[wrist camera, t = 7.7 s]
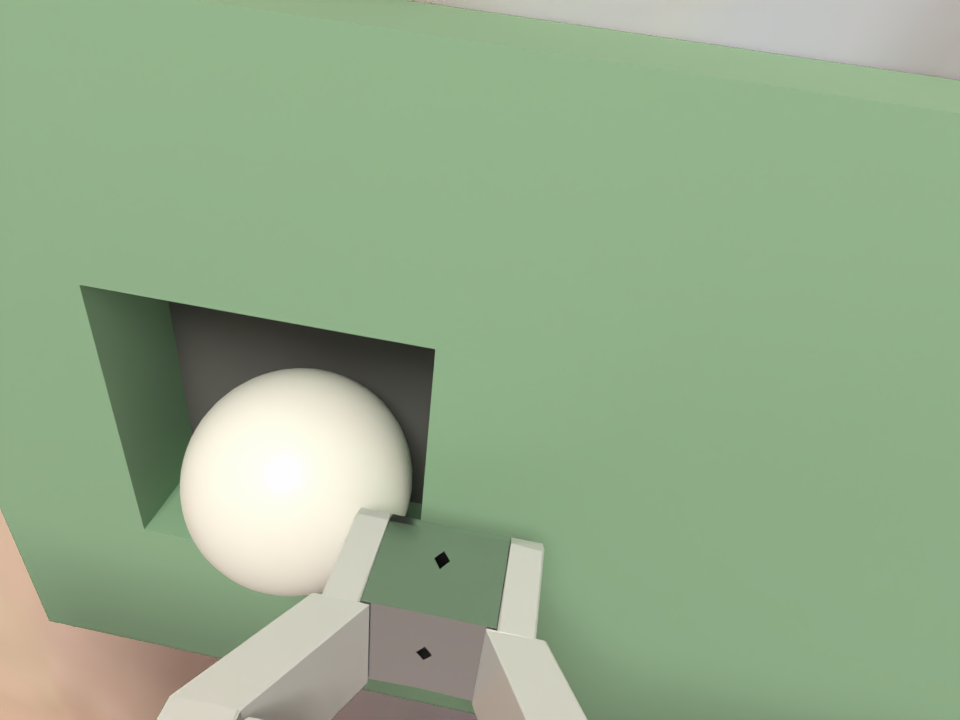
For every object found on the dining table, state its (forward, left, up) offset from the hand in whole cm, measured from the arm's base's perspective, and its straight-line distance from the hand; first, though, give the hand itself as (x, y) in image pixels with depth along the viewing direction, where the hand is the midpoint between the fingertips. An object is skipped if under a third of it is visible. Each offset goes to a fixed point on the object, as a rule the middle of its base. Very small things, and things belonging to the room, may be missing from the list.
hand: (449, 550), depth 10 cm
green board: (-4, 0, -4) cm, 5 cm away
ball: (+3, 0, -1) cm, 3 cm away
